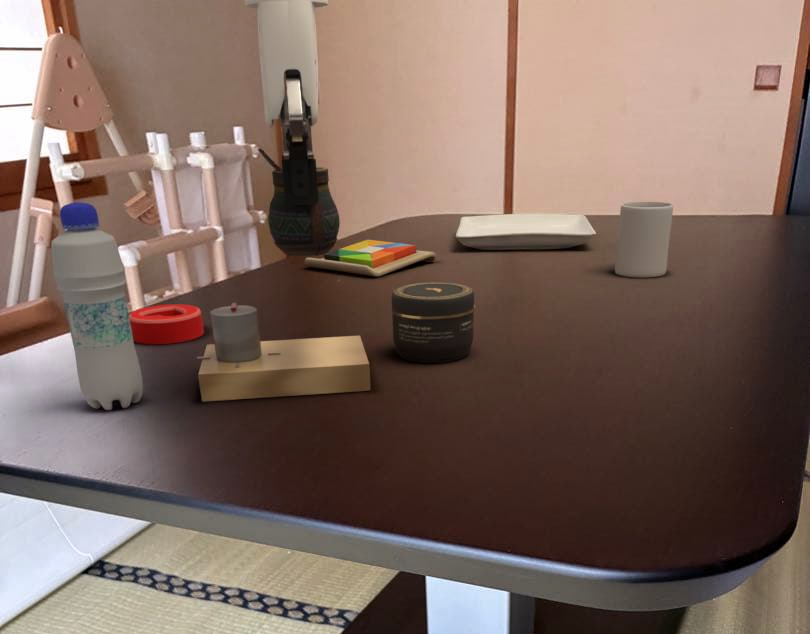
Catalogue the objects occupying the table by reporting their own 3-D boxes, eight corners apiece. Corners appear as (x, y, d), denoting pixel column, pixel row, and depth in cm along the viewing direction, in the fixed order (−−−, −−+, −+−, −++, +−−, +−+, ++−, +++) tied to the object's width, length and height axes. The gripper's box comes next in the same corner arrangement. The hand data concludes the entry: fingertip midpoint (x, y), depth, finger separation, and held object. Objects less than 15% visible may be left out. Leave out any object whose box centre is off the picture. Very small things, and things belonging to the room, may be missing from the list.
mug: (668, 277, 139) (677, 207, 134) (616, 277, 140) (622, 207, 135) (660, 264, 150) (667, 198, 144) (611, 264, 151) (617, 199, 146)
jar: (418, 339, 109) (417, 278, 105) (487, 347, 104) (489, 285, 101) (377, 358, 101) (374, 294, 98) (450, 369, 97) (450, 302, 93)
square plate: (460, 232, 189) (461, 214, 188) (583, 231, 187) (584, 212, 185) (455, 253, 166) (455, 232, 164) (595, 251, 163) (597, 230, 161)
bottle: (128, 389, 93) (92, 196, 84) (159, 402, 89) (124, 200, 80) (71, 404, 89) (26, 203, 80) (101, 418, 85) (56, 208, 75)
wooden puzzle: (302, 269, 155) (300, 249, 153) (371, 253, 167) (370, 235, 166) (371, 279, 145) (370, 258, 143) (439, 262, 157) (439, 242, 156)
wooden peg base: (196, 402, 89) (191, 373, 87) (205, 369, 99) (201, 343, 98) (370, 390, 91) (369, 362, 89) (361, 360, 101) (360, 334, 100)
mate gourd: (354, 254, 85) (349, 145, 80) (285, 262, 82) (275, 149, 77) (323, 245, 90) (316, 143, 86) (257, 252, 87) (247, 146, 82)
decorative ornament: (203, 324, 119) (200, 301, 118) (204, 340, 111) (201, 316, 110) (133, 329, 118) (129, 306, 116) (129, 346, 109) (125, 322, 108)
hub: (261, 360, 91) (256, 311, 89) (214, 363, 91) (208, 314, 88) (262, 348, 95) (257, 301, 93) (217, 351, 95) (211, 303, 92)
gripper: (247, -3, 83) (265, 193, 91) (238, -25, 67) (261, 213, 76) (323, -4, 83) (334, 191, 92) (331, -26, 68) (344, 209, 77)
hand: (301, 199), depth 84 cm, fingers closed on mate gourd, 6 cm apart
